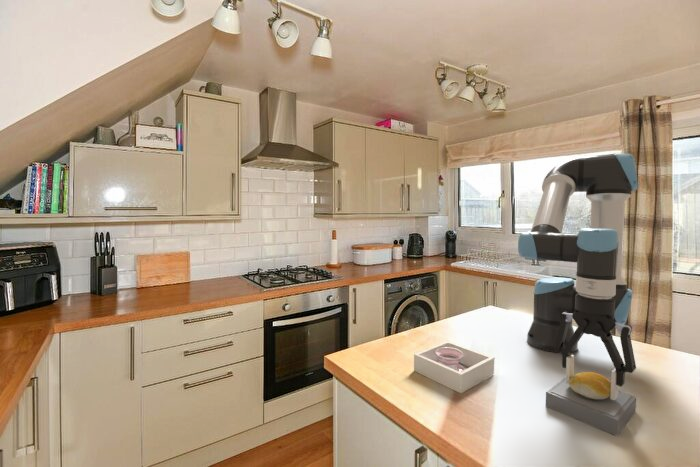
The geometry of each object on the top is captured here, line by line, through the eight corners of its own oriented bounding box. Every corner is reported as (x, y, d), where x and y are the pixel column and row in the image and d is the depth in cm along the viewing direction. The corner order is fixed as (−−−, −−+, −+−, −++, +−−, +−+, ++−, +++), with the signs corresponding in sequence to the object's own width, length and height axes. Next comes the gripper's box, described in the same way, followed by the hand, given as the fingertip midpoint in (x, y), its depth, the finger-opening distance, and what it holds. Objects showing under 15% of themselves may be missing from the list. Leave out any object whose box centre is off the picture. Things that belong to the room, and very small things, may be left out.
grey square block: (545, 406, 82) (546, 391, 82) (568, 387, 91) (569, 373, 91) (617, 436, 71) (617, 419, 71) (635, 411, 80) (636, 396, 79)
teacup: (463, 387, 91) (464, 365, 91) (421, 376, 98) (421, 355, 97) (474, 370, 101) (475, 349, 101) (435, 360, 108) (435, 341, 107)
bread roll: (619, 392, 80) (619, 375, 80) (602, 404, 75) (603, 387, 75) (580, 378, 87) (580, 362, 86) (562, 388, 82) (563, 372, 82)
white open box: (413, 370, 101) (413, 354, 100) (447, 356, 111) (447, 340, 110) (460, 393, 88) (461, 374, 88) (493, 374, 98) (494, 357, 98)
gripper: (539, 289, 85) (536, 377, 87) (650, 308, 68) (644, 416, 70) (552, 284, 90) (549, 368, 91) (659, 301, 73) (653, 403, 75)
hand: (590, 389), depth 81 cm, fingers closed on bread roll, 8 cm apart
